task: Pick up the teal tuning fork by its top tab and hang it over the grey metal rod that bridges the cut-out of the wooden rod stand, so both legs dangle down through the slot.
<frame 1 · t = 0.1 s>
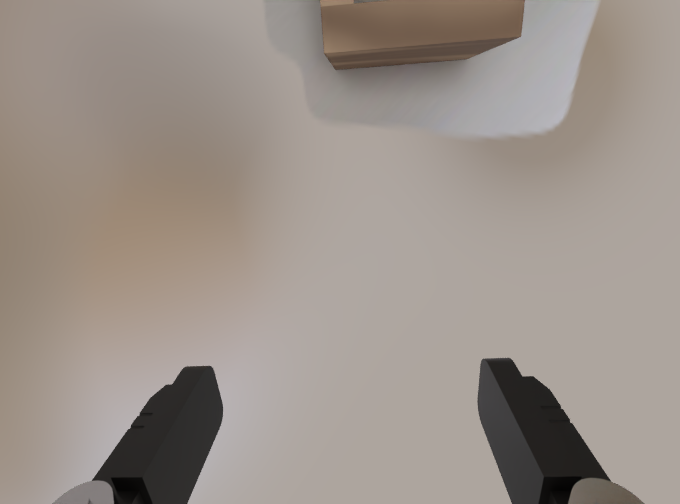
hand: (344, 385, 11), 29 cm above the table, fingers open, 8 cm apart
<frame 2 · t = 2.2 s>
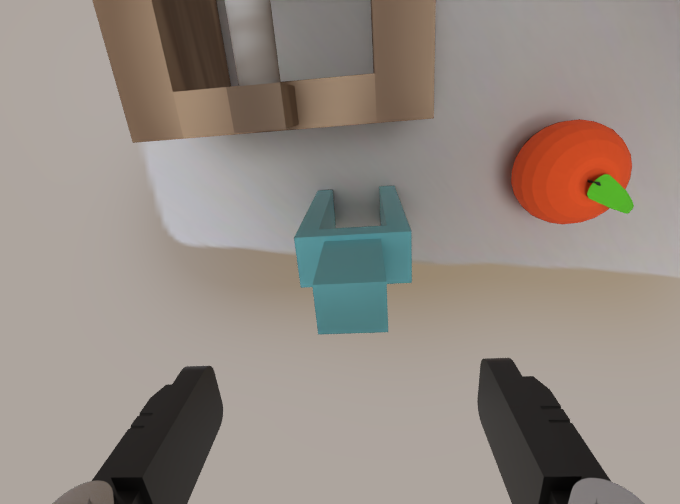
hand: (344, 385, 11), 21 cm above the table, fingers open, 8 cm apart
wooden rod stand: (302, 28, 25), on the table
teal tuning fork: (356, 206, 30), on the table
clementine: (547, 168, 28), on the table
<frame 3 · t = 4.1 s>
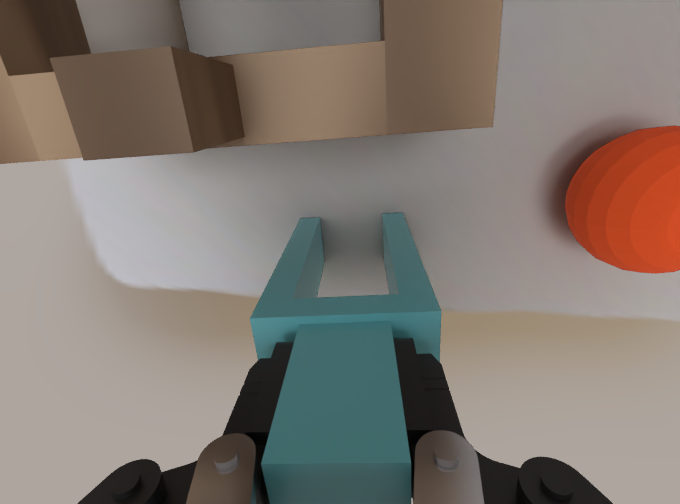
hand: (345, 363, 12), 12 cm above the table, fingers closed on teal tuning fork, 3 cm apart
teal tuning fork: (352, 238, 23), on the table, touching gripper
clementine: (609, 190, 21), on the table
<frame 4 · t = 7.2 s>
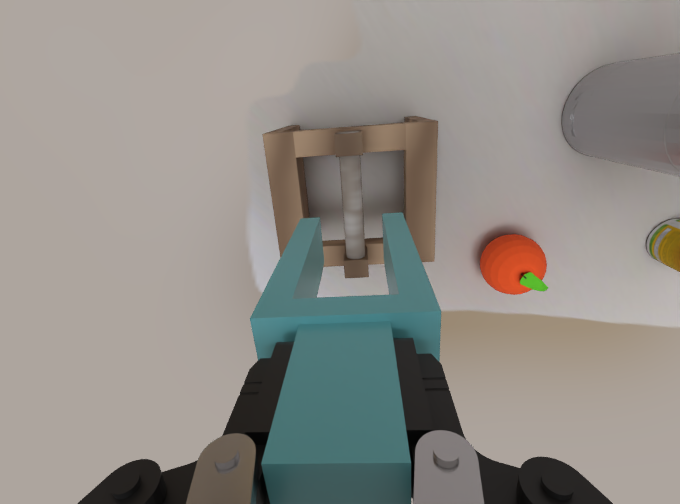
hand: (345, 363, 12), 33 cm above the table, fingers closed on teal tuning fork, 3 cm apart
wooden rod stand: (354, 175, 42), on the table
teal tuning fork: (352, 238, 23), point 21 cm above the table, touching gripper
supplement bottle 2: (667, 238, 44), on the table
clementine: (504, 254, 45), on the table
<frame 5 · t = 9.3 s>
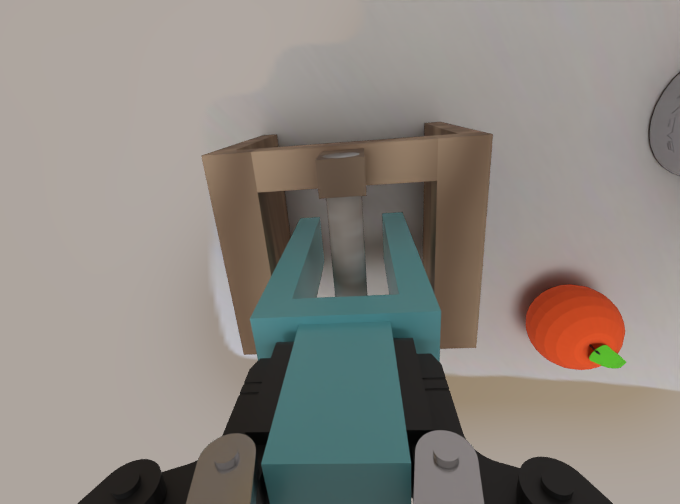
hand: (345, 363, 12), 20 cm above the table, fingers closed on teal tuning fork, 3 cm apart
wooden rod stand: (354, 203, 31), on the table
teal tuning fork: (352, 238, 23), point 9 cm above the table, touching gripper
clementine: (555, 306, 34), on the table
when the fingers open (18 cm above the table, at t = 10.6 s): teal tuning fork drops 1 cm, resting on wooden rod stand.
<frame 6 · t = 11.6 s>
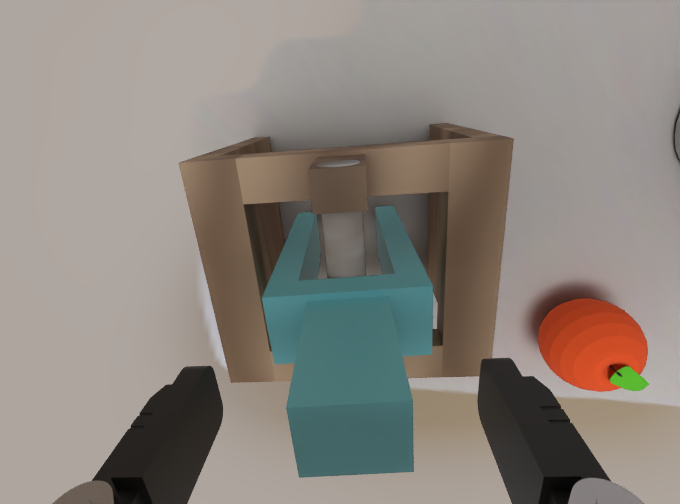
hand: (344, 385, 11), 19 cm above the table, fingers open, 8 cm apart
wooden rod stand: (353, 211, 28), on the table
teal tuning fork: (347, 231, 24), point 5 cm above the table, touching wooden rod stand
clementine: (568, 320, 31), on the table
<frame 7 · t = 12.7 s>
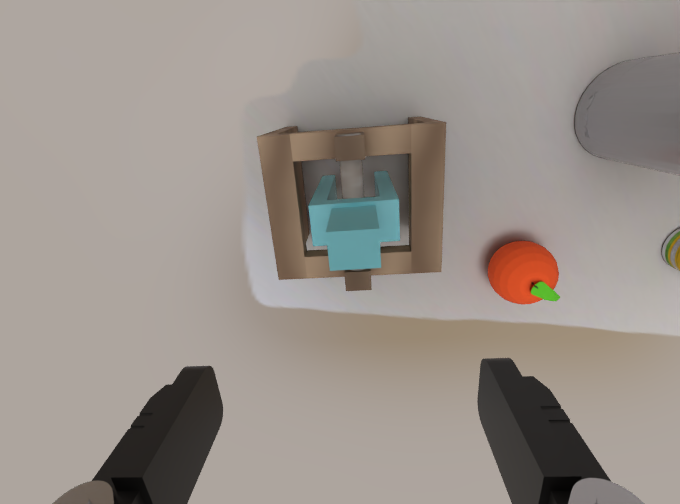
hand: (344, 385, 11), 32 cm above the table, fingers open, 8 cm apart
wooden rod stand: (355, 179, 40), on the table
teal tuning fork: (355, 188, 36), point 5 cm above the table, touching wooden rod stand
clementine: (512, 261, 43), on the table
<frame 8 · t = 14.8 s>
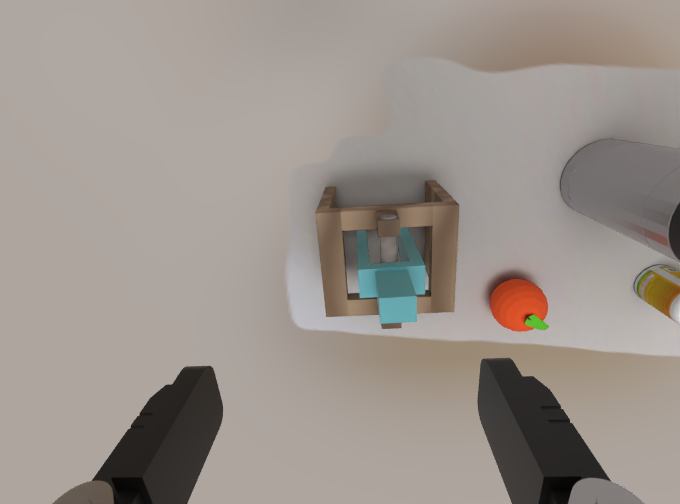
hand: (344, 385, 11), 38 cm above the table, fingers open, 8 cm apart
wooden rod stand: (381, 228, 49), on the table
teal tuning fork: (382, 240, 44), point 5 cm above the table, touching wooden rod stand
supplement bottle 2: (652, 281, 50), on the table
clementine: (510, 293, 52), on the table
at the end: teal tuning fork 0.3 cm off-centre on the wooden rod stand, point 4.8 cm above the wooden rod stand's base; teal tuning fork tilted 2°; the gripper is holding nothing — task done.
